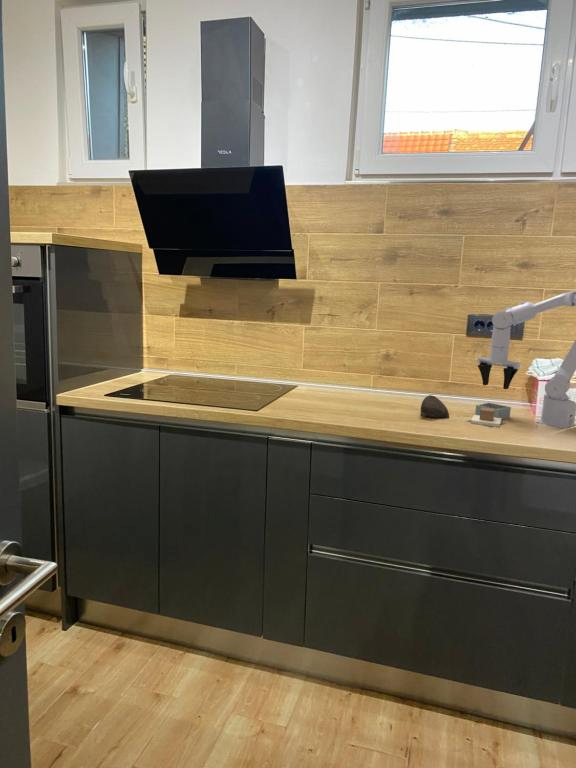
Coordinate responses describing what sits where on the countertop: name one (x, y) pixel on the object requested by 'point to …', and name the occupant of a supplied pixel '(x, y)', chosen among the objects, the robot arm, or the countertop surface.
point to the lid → (486, 418)
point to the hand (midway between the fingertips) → (495, 386)
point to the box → (498, 413)
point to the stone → (433, 408)
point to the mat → (487, 425)
